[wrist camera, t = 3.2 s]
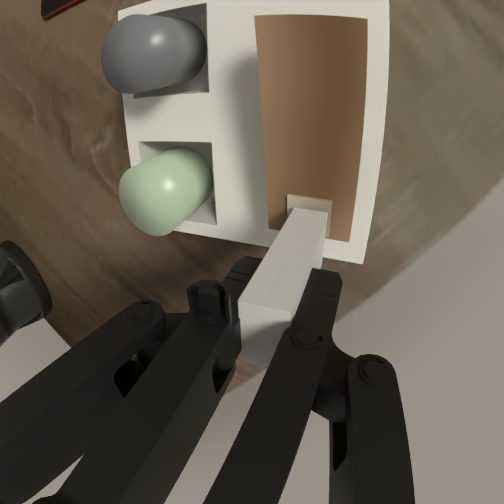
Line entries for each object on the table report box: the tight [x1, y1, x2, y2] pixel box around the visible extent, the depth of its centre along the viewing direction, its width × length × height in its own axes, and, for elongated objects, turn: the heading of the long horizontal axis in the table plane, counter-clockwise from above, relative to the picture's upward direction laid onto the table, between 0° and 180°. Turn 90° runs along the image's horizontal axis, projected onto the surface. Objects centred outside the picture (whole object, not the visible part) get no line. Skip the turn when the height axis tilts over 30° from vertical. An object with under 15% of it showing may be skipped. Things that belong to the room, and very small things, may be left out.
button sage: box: [119, 146, 213, 236], centre depth 18 cm, size 4×4×4 cm
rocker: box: [254, 14, 368, 242], centre depth 12 cm, size 4×10×2 cm, turn 1°
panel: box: [118, 0, 389, 264], centre depth 16 cm, size 15×15×5 cm
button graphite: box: [101, 14, 207, 94], centre depth 13 cm, size 4×4×4 cm
